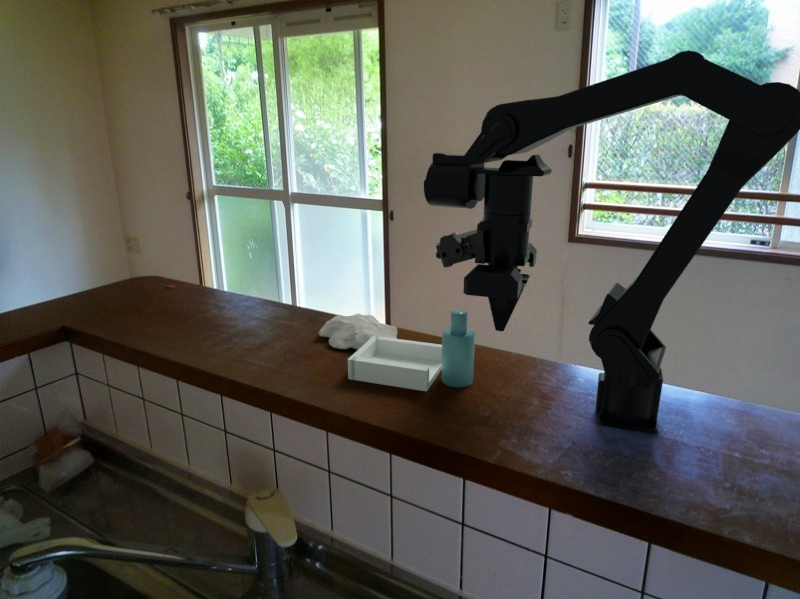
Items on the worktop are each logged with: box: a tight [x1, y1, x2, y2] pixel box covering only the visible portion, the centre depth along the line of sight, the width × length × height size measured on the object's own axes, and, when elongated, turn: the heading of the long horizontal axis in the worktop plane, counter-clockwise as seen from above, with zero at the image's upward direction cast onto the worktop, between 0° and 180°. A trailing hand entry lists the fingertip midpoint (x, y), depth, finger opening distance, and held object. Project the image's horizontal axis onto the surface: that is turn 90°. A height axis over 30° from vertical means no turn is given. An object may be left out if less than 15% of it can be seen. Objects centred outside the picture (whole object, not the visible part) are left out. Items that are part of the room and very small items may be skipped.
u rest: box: [347, 336, 442, 392], centre depth 80 cm, size 12×9×3 cm
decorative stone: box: [318, 312, 398, 351], centre depth 91 cm, size 11×4×15 cm
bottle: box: [440, 309, 476, 388], centre depth 76 cm, size 4×4×10 cm
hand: (499, 330), depth 73 cm, fingers closed
